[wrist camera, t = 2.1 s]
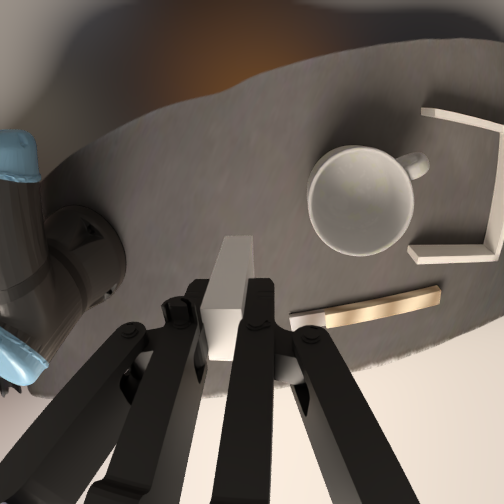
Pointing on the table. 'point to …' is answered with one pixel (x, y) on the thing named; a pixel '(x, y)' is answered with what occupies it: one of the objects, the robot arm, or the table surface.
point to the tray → (500, 219)
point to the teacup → (362, 198)
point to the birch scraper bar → (368, 309)
